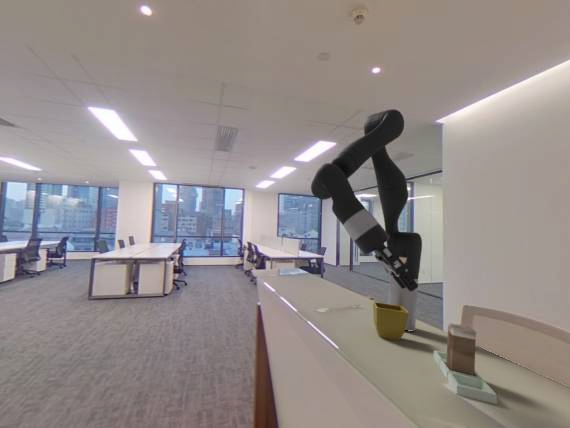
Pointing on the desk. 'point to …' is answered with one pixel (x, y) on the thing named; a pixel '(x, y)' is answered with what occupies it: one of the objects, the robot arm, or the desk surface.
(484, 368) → the desk surface
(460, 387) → the tray
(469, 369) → the brown wooden block
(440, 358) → the tray
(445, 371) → the tray
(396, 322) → the flower pot
